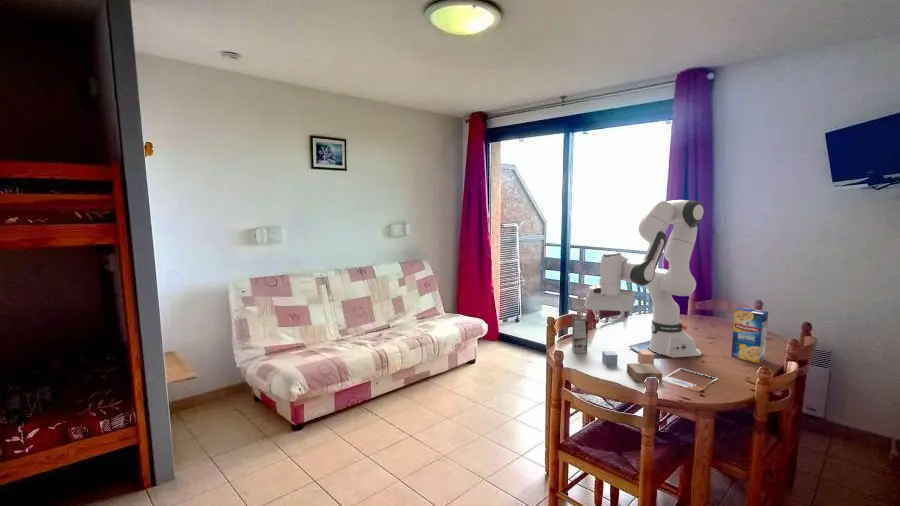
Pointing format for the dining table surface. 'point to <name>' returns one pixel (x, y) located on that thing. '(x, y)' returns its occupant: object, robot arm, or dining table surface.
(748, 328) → the beverage box
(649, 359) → the terracotta cube
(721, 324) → the dining table surface
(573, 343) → the coffee box
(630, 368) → the walnut block
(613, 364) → the blue cube
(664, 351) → the robot arm
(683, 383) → the photo frame
